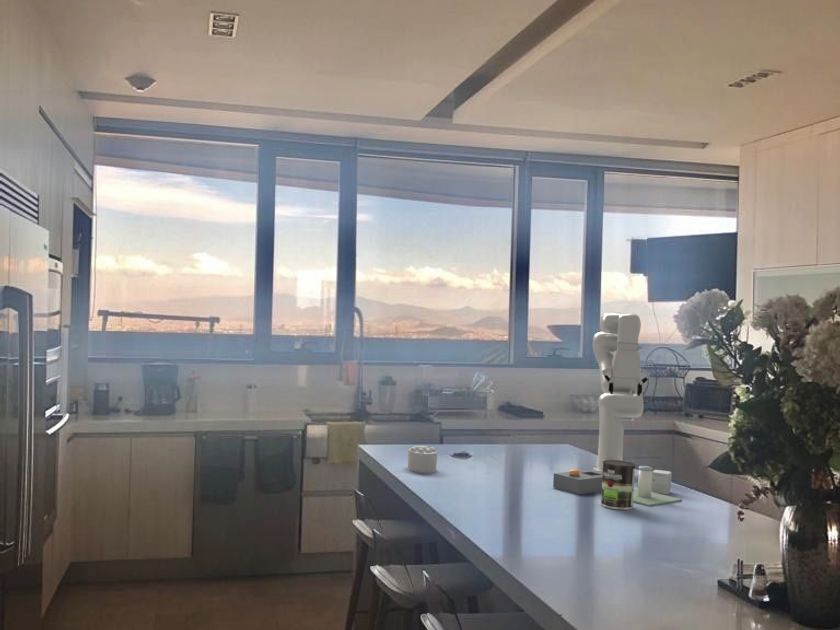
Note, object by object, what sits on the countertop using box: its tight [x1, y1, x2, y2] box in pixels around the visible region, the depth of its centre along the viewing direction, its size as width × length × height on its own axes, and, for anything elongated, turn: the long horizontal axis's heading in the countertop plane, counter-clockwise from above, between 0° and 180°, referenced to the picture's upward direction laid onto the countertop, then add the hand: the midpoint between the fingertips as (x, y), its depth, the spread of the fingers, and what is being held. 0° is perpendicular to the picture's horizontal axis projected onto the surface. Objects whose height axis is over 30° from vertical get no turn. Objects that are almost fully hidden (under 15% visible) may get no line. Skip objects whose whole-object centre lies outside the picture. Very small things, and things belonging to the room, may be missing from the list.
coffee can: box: [600, 460, 636, 511], centre depth 267 cm, size 10×10×14 cm
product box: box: [651, 469, 673, 495], centre depth 295 cm, size 6×6×7 cm
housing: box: [552, 469, 603, 495], centre depth 293 cm, size 18×12×5 cm, turn 127°
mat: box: [633, 488, 683, 507], centre depth 282 cm, size 18×18×1 cm
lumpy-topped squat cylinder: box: [407, 445, 438, 474], centre depth 314 cm, size 10×13×9 cm
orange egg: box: [568, 468, 581, 477], centre depth 290 cm, size 4×4×6 cm
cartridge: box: [637, 465, 653, 498], centre depth 282 cm, size 4×4×10 cm
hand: (624, 394), depth 303 cm, fingers open, 9 cm apart
